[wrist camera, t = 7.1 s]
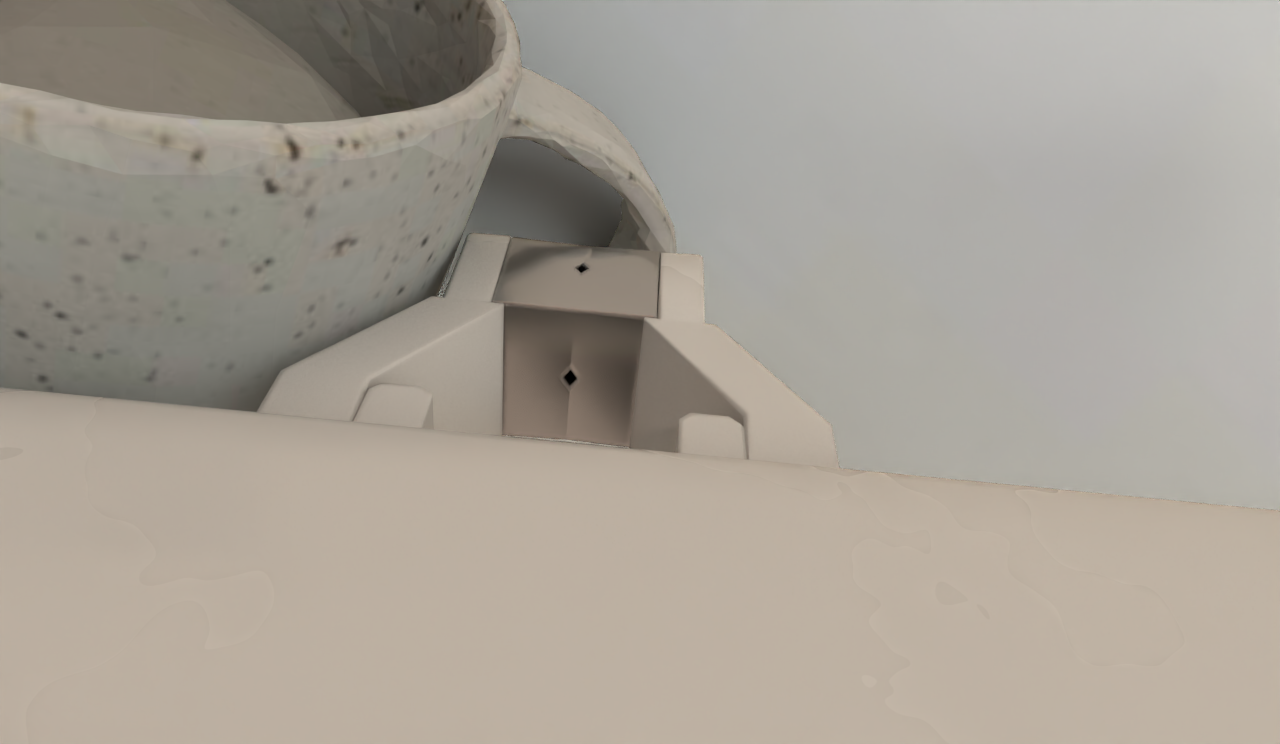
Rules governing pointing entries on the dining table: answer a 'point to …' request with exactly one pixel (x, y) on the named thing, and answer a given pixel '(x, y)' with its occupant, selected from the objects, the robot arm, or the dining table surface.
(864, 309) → the dining table surface
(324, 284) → the ceramic mug
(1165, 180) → the dining table surface
